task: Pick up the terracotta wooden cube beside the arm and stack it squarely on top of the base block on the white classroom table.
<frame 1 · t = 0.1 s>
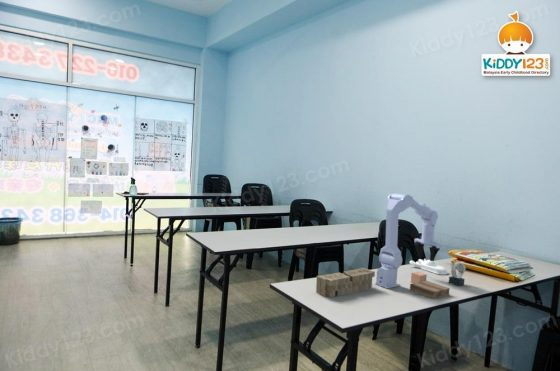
hand: (425, 258, 198), 10 cm above the table, fingers open, 7 cm apart
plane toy: (429, 270, 215), on the table
cube: (418, 283, 189), on the table
watch: (456, 284, 191), on the table
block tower: (345, 291, 173), on the table
base block: (429, 292, 176), on the table
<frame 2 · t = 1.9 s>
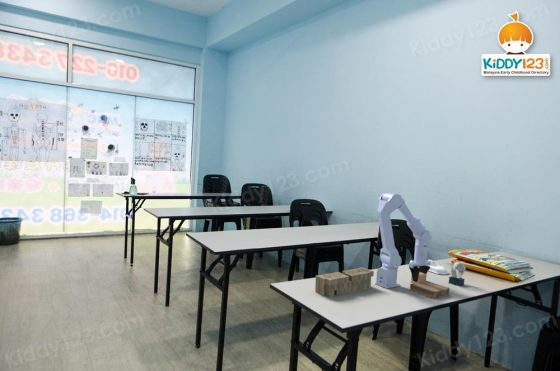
hand: (418, 280, 189), 1 cm above the table, fingers closed on cube, 5 cm apart
cube: (418, 283, 189), on the table, touching gripper
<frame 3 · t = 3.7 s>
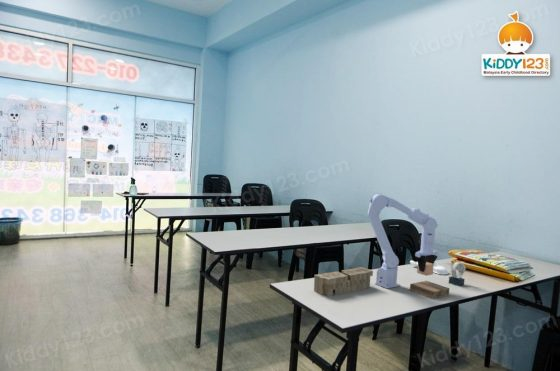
hand: (425, 270, 181), 8 cm above the table, fingers closed on cube, 5 cm apart
cube: (424, 273, 182), point 7 cm above the table, touching gripper
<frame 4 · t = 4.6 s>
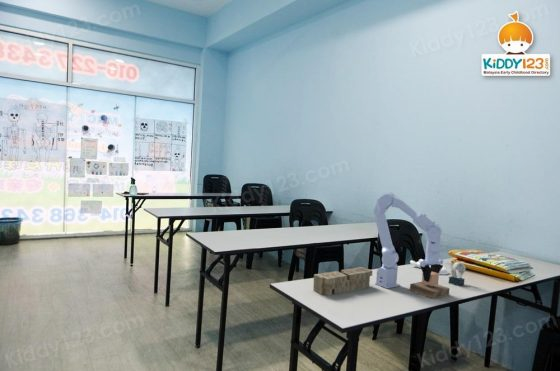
hand: (430, 280, 175), 6 cm above the table, fingers closed on cube, 5 cm apart
cube: (429, 283, 175), point 4 cm above the table, touching gripper
when the fingers open (5 cm above the table, at t = 5.1 s): cube stays where it is, resting on base block.
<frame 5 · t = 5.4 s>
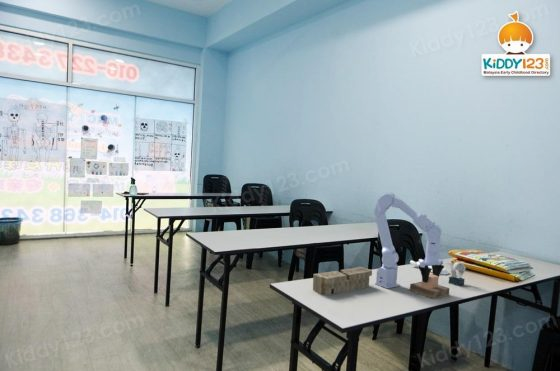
hand: (430, 281, 175), 5 cm above the table, fingers open, 7 cm apart
cube: (429, 286, 175), point 3 cm above the table, touching base block
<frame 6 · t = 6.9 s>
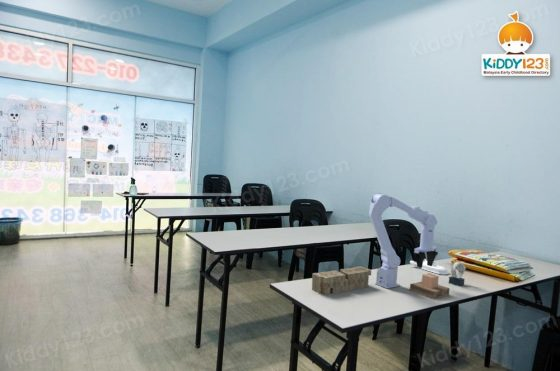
hand: (424, 266, 185), 9 cm above the table, fingers open, 7 cm apart
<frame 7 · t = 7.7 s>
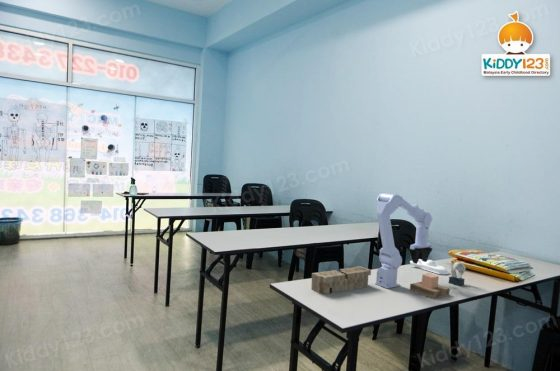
hand: (419, 262, 193), 9 cm above the table, fingers open, 7 cm apart
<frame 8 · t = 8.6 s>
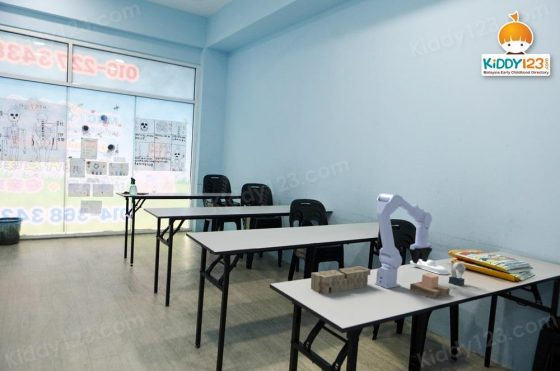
hand: (419, 262, 193), 9 cm above the table, fingers open, 7 cm apart
at the end: cube inside the target area on the base block (0.1 cm from its centre), point 3.0 cm above the base block's base; cube tilted 0°; the gripper is holding nothing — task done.
